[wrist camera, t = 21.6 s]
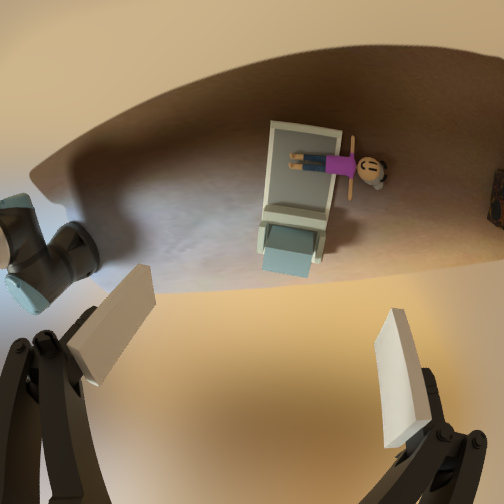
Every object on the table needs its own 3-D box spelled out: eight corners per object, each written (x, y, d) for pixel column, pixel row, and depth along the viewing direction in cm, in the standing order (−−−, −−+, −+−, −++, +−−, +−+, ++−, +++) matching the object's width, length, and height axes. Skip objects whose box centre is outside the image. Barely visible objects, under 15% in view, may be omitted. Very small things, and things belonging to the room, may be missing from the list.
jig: (259, 251, 51) (255, 261, 48) (271, 120, 40) (267, 121, 36) (318, 261, 50) (318, 272, 47) (342, 130, 38) (344, 132, 35)
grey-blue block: (270, 245, 49) (262, 269, 43) (272, 225, 47) (265, 246, 41) (309, 252, 48) (307, 278, 42) (313, 232, 46) (312, 255, 40)
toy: (290, 126, 39) (389, 135, 34) (295, 139, 44) (383, 148, 40) (284, 191, 39) (388, 203, 35) (290, 198, 44) (381, 209, 40)
